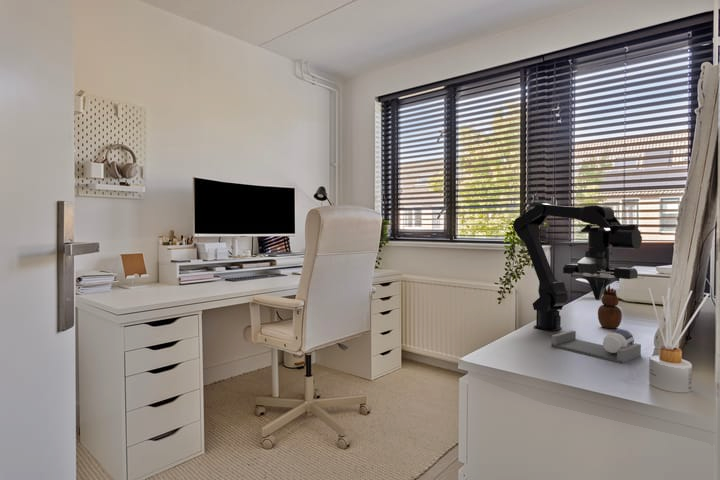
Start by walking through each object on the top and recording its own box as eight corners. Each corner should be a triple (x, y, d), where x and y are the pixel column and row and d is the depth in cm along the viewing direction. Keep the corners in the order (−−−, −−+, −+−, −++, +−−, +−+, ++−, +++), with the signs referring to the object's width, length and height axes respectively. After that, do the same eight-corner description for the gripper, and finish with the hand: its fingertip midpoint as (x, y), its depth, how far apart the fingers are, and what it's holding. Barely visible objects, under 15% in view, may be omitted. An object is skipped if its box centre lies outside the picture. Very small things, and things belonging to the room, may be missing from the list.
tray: (551, 346, 114) (551, 335, 114) (571, 340, 120) (571, 330, 120) (622, 363, 99) (622, 351, 99) (640, 355, 106) (640, 344, 106)
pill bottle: (609, 330, 113) (596, 335, 106) (630, 327, 109) (619, 332, 102) (615, 349, 111) (603, 356, 105) (637, 347, 108) (626, 354, 101)
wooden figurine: (594, 326, 139) (595, 282, 138) (605, 324, 141) (606, 281, 141) (613, 330, 133) (614, 285, 132) (624, 329, 135) (625, 284, 135)
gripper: (554, 246, 123) (553, 297, 124) (621, 249, 108) (620, 307, 109) (572, 246, 130) (571, 294, 130) (639, 248, 115) (637, 303, 115)
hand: (597, 299), depth 121 cm, fingers closed
